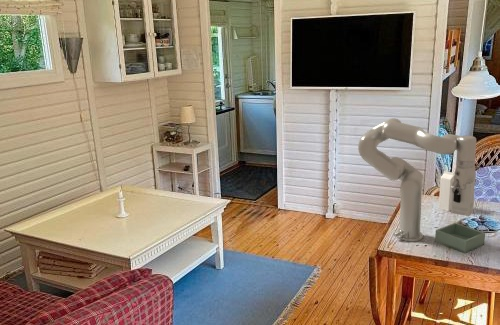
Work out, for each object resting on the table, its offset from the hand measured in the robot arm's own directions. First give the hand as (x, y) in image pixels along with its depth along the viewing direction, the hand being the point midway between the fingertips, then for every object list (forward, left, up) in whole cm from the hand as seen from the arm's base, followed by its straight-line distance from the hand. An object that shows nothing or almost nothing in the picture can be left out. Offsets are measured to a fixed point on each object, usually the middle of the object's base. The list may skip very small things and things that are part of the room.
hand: (462, 199), depth 206 cm
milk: (+33, +31, -22) cm, 50 cm away
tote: (0, 0, -22) cm, 22 cm away
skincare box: (0, 0, -7) cm, 7 cm away
